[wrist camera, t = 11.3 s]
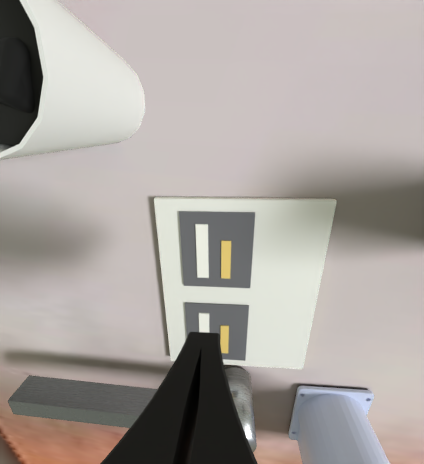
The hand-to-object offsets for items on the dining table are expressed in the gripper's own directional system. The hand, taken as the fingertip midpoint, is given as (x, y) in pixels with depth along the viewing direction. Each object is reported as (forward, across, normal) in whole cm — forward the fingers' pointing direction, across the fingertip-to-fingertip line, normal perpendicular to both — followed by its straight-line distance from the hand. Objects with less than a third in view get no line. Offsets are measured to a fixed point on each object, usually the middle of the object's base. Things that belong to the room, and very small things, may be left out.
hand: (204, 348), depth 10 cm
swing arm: (+10, +8, +15) cm, 20 cm away
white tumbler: (+11, +8, -12) cm, 18 cm away
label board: (+10, -2, +4) cm, 12 cm away
